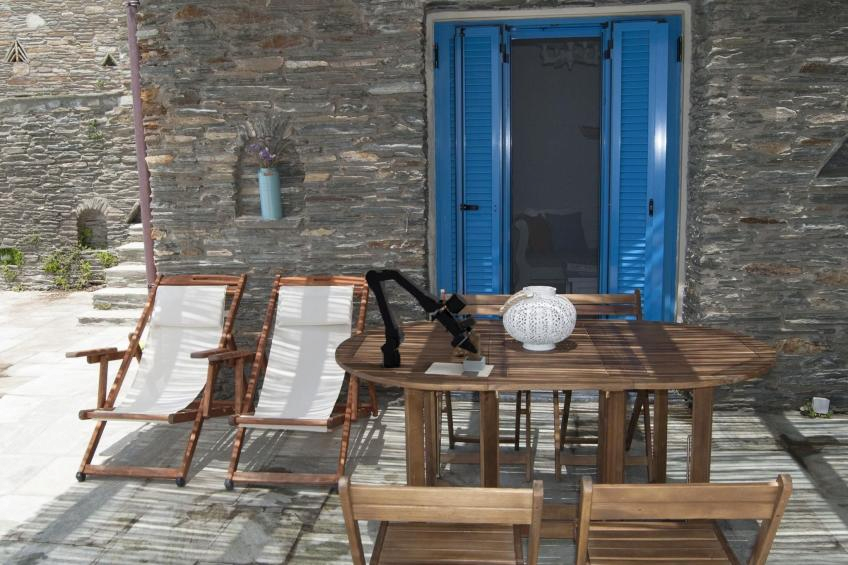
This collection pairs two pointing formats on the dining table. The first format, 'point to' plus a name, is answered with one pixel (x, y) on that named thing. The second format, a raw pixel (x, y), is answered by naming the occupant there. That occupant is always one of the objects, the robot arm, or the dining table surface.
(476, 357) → the walnut block
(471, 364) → the sleeve
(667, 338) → the dining table surface
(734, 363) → the dining table surface
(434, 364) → the board
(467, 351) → the lion figurine
